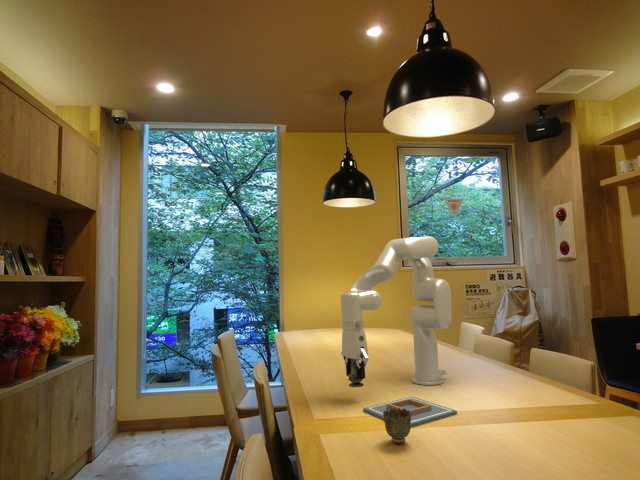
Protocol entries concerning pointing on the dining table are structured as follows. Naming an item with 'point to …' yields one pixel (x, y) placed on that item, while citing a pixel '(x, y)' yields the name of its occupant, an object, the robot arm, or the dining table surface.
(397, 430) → the cup
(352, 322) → the robot arm
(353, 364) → the dark grey chess piece
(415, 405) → the board
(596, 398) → the dining table surface
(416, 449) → the dining table surface
